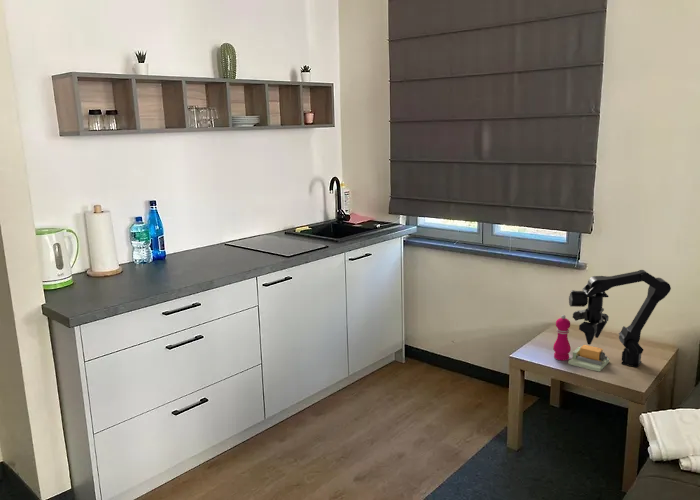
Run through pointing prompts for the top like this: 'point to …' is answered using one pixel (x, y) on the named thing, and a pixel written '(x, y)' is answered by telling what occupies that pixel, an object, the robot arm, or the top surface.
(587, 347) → the orange tapered block
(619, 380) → the top surface
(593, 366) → the pale green tray
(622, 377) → the top surface
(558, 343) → the pepper mill
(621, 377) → the top surface
